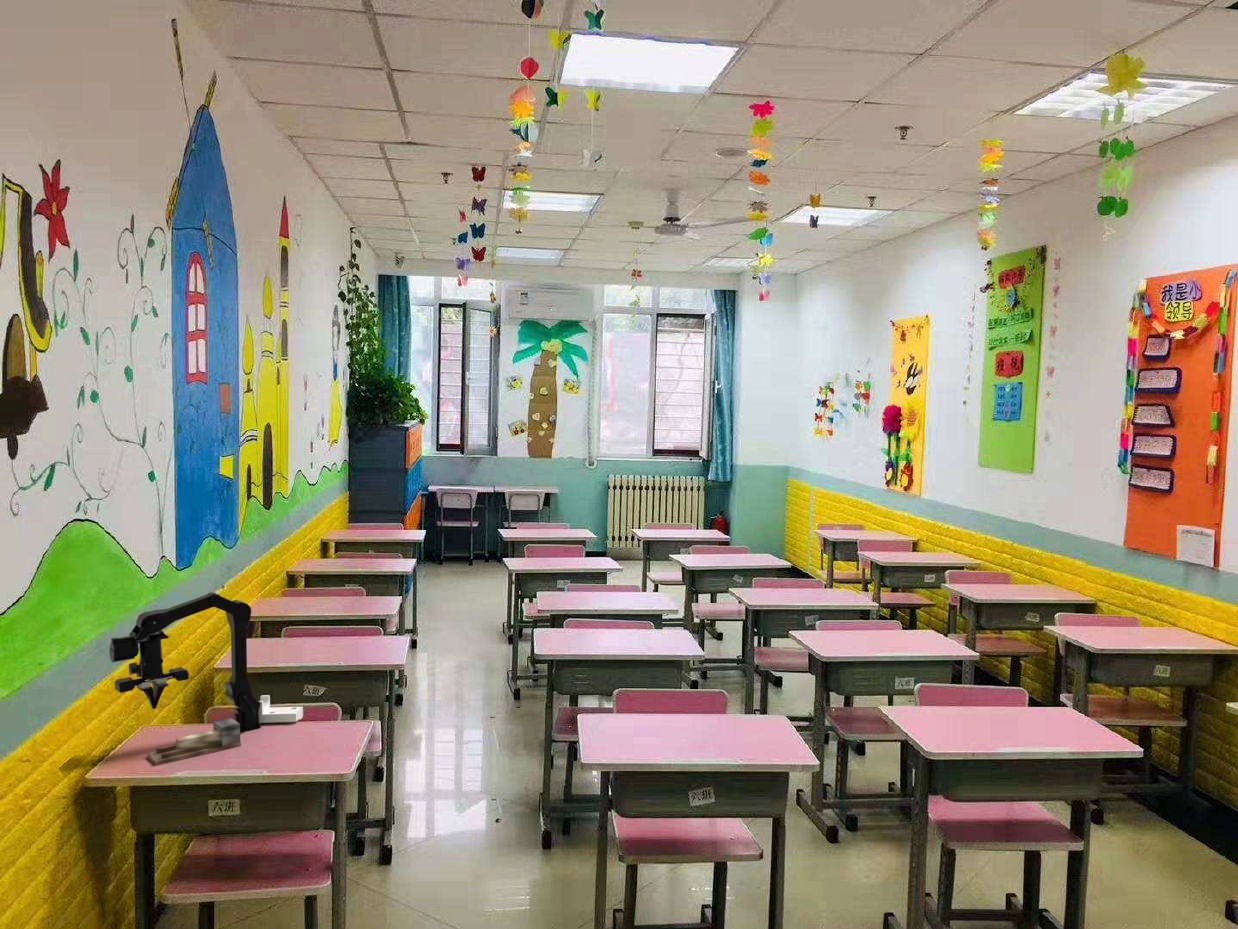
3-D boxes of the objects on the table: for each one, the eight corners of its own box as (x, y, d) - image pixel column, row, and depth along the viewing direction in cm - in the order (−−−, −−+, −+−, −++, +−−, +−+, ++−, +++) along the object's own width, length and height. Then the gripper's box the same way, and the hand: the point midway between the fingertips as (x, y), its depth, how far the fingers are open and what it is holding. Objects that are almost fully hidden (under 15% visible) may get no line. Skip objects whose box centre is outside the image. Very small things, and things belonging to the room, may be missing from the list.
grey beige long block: (226, 739, 276) (226, 727, 276) (230, 741, 274) (229, 730, 274) (176, 750, 267) (175, 738, 267) (179, 753, 265) (178, 741, 265)
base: (231, 738, 280) (230, 717, 280) (241, 745, 273) (240, 724, 273) (147, 757, 265) (146, 734, 265) (156, 765, 258) (155, 742, 258)
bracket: (254, 725, 292) (253, 702, 292) (262, 718, 299) (261, 695, 299) (296, 724, 293) (295, 701, 292) (303, 717, 300) (302, 694, 300)
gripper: (176, 645, 283) (178, 695, 284) (108, 657, 271) (111, 710, 272) (188, 651, 275) (190, 703, 276) (118, 664, 263) (121, 718, 264)
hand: (153, 708), depth 272 cm, fingers closed
